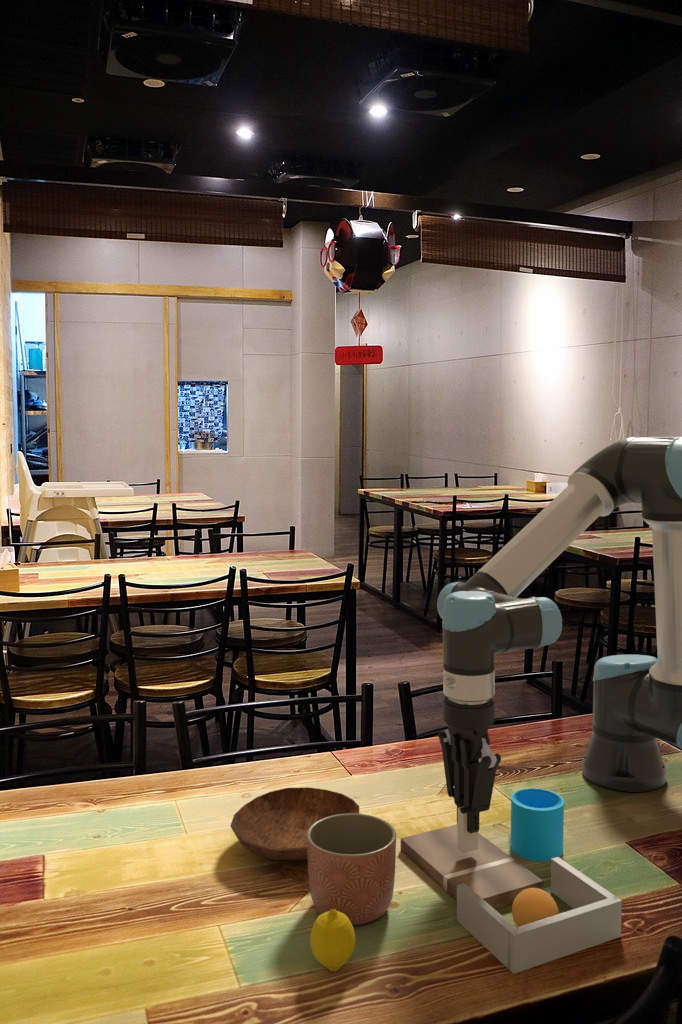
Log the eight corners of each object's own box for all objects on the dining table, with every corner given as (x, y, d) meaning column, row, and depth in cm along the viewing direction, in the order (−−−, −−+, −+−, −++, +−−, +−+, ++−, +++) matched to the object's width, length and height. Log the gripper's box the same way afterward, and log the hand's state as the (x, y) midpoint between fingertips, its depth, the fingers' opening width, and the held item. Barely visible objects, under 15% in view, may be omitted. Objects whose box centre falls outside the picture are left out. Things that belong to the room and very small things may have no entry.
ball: (534, 880, 116) (558, 882, 111) (548, 926, 115) (574, 930, 109) (497, 895, 114) (520, 898, 108) (512, 942, 112) (536, 947, 107)
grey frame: (557, 889, 123) (558, 856, 122) (620, 936, 111) (621, 900, 111) (456, 920, 115) (456, 885, 115) (513, 973, 104) (514, 935, 103)
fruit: (340, 950, 109) (339, 890, 108) (364, 973, 104) (363, 911, 103) (302, 965, 106) (301, 904, 105) (325, 989, 101) (325, 926, 100)
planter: (408, 895, 121) (408, 822, 120) (376, 943, 110) (376, 863, 109) (330, 877, 127) (329, 806, 125) (291, 921, 115) (290, 844, 114)
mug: (573, 857, 132) (574, 806, 131) (525, 864, 130) (526, 813, 129) (535, 822, 143) (536, 776, 142) (491, 829, 141) (491, 781, 140)
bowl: (379, 827, 142) (379, 798, 142) (321, 893, 122) (321, 860, 122) (276, 806, 150) (276, 779, 150) (206, 864, 131) (205, 833, 130)
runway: (464, 834, 139) (464, 822, 139) (542, 894, 121) (543, 880, 121) (400, 850, 134) (400, 838, 134) (472, 915, 116) (472, 901, 116)
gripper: (423, 688, 130) (423, 836, 132) (473, 714, 118) (472, 875, 120) (464, 681, 133) (463, 825, 135) (516, 705, 121) (515, 862, 124)
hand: (467, 849), depth 128 cm, fingers closed
